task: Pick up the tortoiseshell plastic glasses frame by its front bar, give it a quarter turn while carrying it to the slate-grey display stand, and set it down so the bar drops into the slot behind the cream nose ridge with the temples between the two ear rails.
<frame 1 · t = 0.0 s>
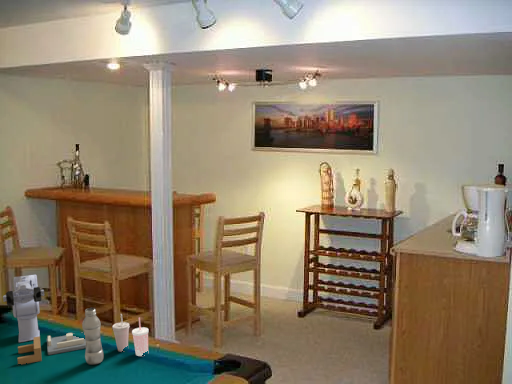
hand: (23, 300, 212), 22 cm above the table, tool horizontal, fingers open, 7 cm apart
plastic bottle: (95, 363, 207), on the table
smoothie: (122, 350, 217), on the table
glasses: (38, 355, 216), on the table
display stand: (70, 344, 224), on the table
beverage cup: (142, 353, 213), on the table
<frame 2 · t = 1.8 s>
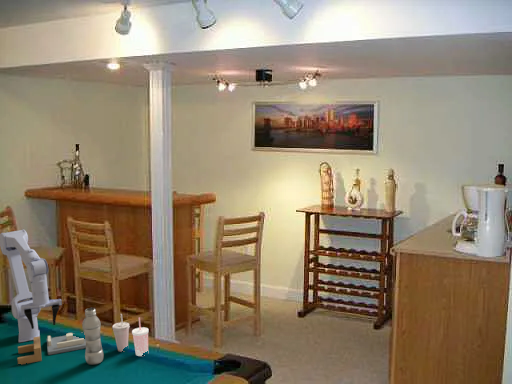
hand: (43, 326, 218), 10 cm above the table, tool pointing down, fingers open, 7 cm apart
nothing on the table moved.
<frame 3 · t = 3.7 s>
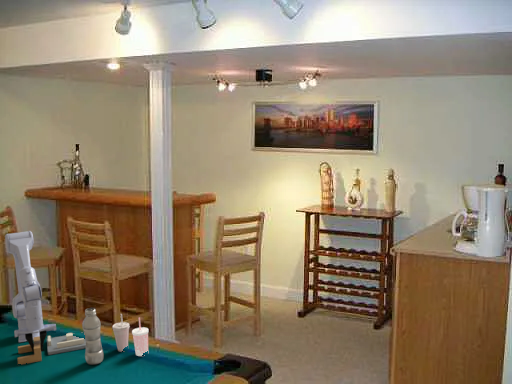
hand: (37, 351, 215), 2 cm above the table, tool pointing down, fingers closed on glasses, 2 cm apart
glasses: (38, 355, 216), on the table, touching gripper
everything else where it was.
when the fingers open (4 cm above the table, at t = 6.5 s): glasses stays where it is, resting on display stand.
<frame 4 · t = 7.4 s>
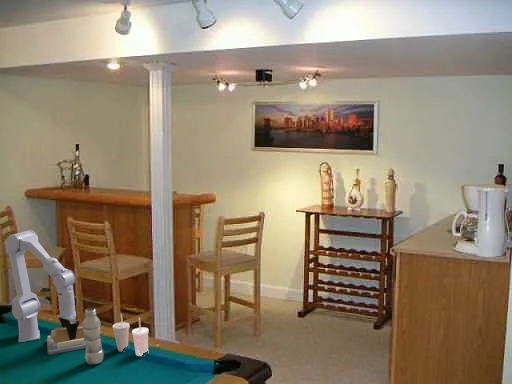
hand: (69, 336, 222), 4 cm above the table, tool pointing down, fingers open, 7 cm apart
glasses: (70, 340, 222), point 2 cm above the table, tilted 9°, touching display stand
everything else where it was.
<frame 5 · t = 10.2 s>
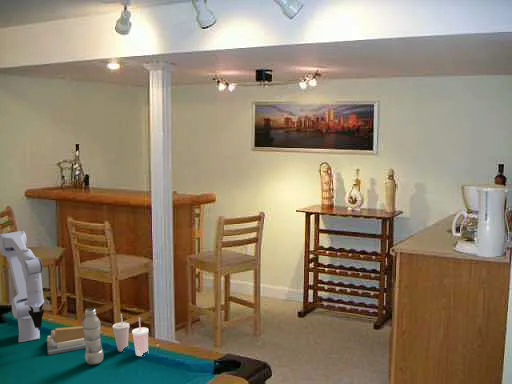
hand: (38, 324, 220), 10 cm above the table, tool pointing down, fingers open, 7 cm apart
nothing on the table moved.
at the end: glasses 0.2 cm from the target spot on the display stand, point 2.2 cm above the display stand's base; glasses tilted 9°; the gripper is holding nothing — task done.
